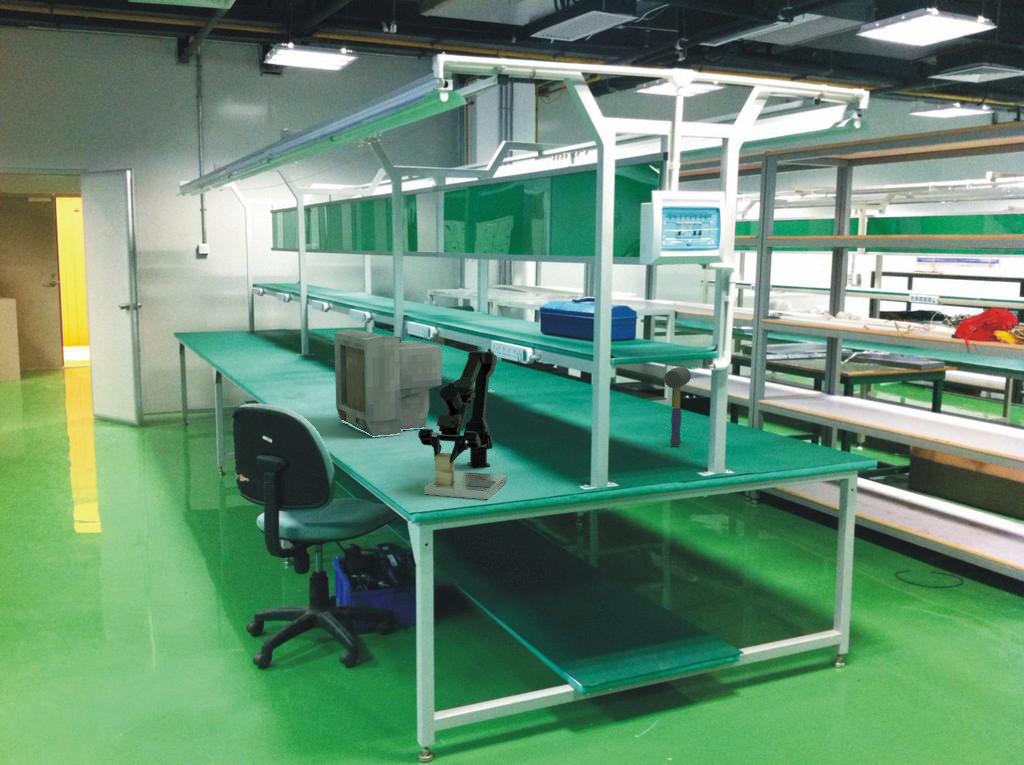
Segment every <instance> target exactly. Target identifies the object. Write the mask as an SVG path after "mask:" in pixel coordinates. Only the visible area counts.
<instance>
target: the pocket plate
mask: <svg viewBox="0 0 1024 765" xmlns="http://www.w3.org/2000/svg"><path fill="white" fill-rule="evenodd" d="M507 479H508V476H507V474H496V473H495V474H494V473H481V472H467V471H455V470H454V483H453V484H452V485H451V486H445V485H435V478H434V479H433V480H431V481H430V482H429V483H427V484H426V485H425V486H424V490H423V491H424V493H423V494H429V495H428V496H435V495H439V497H447V496H450V497H449V498H460V497H464V498H463V499H472V498H476V500H484V499H489V498H490V497H491V496H492V495H493V494H494V493H495V494H496V493H498V492H499V491H500V490H501V489H502V488H503V487H504V486H505V485H506V484H507V483H506V482H508V480H507ZM505 483H506V484H505ZM504 484H505V485H504ZM503 485H504V486H503ZM502 486H503V487H502ZM501 487H502V488H501ZM500 488H501V489H500ZM495 494H494V495H495ZM494 495H493V496H494ZM493 496H492V497H493ZM492 497H491V498H492ZM491 498H490V499H491ZM490 499H489V500H490Z"/></svg>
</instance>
